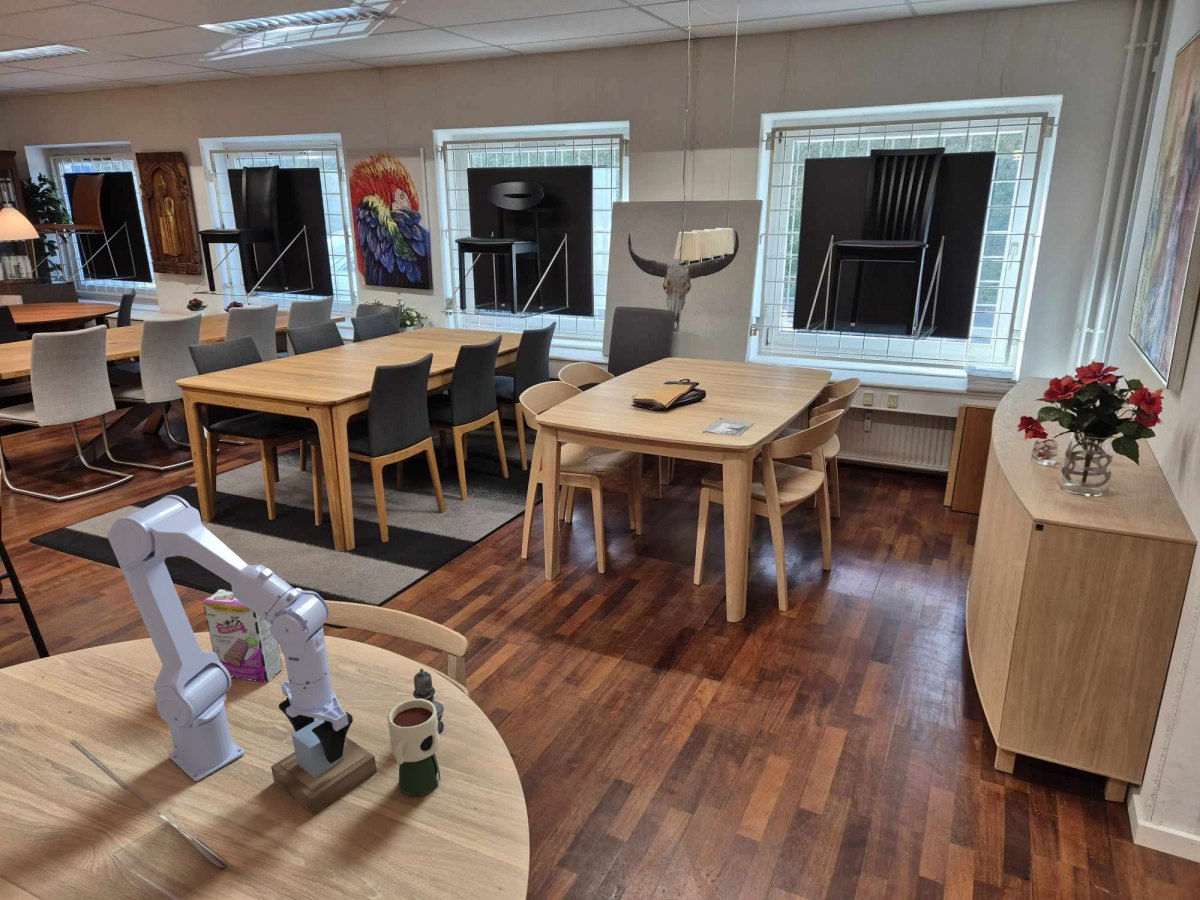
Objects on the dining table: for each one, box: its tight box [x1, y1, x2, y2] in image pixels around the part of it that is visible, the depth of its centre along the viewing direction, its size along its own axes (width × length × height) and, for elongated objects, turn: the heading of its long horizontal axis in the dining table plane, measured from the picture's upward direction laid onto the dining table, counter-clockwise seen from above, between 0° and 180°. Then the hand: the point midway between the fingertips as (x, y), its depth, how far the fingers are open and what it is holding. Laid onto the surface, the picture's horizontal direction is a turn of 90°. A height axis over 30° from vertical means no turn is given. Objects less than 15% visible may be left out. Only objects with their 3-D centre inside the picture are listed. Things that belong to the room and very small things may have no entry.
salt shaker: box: [412, 668, 445, 735], centre depth 126 cm, size 6×6×12 cm
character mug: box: [387, 698, 441, 796], centre depth 114 cm, size 11×7×13 cm, turn 168°
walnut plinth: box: [270, 736, 378, 816], centre depth 117 cm, size 11×11×3 cm
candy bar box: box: [202, 589, 283, 683], centre depth 141 cm, size 11×5×16 cm, turn 77°
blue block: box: [291, 719, 344, 778], centre depth 115 cm, size 5×5×6 cm
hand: (321, 748), depth 116 cm, fingers open, 7 cm apart
